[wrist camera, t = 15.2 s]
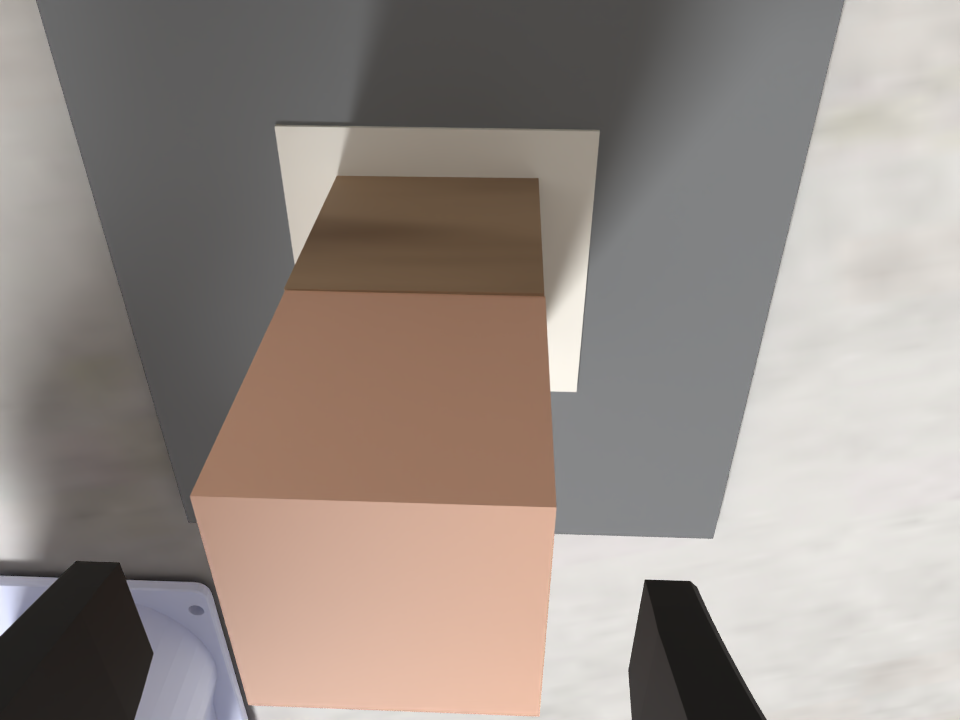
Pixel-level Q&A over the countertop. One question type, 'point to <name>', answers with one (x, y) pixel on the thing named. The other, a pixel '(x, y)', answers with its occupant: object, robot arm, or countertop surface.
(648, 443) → the grey mat
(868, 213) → the countertop surface
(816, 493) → the countertop surface
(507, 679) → the terracotta block
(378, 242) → the walnut block
